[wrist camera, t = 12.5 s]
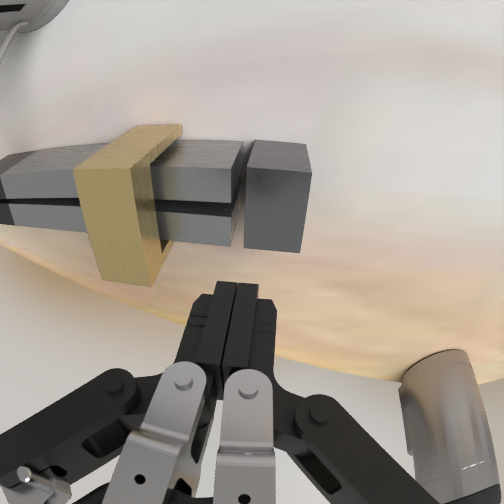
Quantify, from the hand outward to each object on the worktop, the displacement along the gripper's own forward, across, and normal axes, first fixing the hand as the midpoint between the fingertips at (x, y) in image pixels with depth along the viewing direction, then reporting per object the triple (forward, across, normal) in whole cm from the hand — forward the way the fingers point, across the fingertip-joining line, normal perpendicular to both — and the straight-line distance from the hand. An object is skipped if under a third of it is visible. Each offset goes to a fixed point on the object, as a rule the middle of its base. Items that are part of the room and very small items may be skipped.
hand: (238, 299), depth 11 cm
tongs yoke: (+10, -1, -1) cm, 10 cm away
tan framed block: (+10, +6, -1) cm, 11 cm away
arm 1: (+10, +11, -2) cm, 15 cm away
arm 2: (+10, +11, 0) cm, 15 cm away
